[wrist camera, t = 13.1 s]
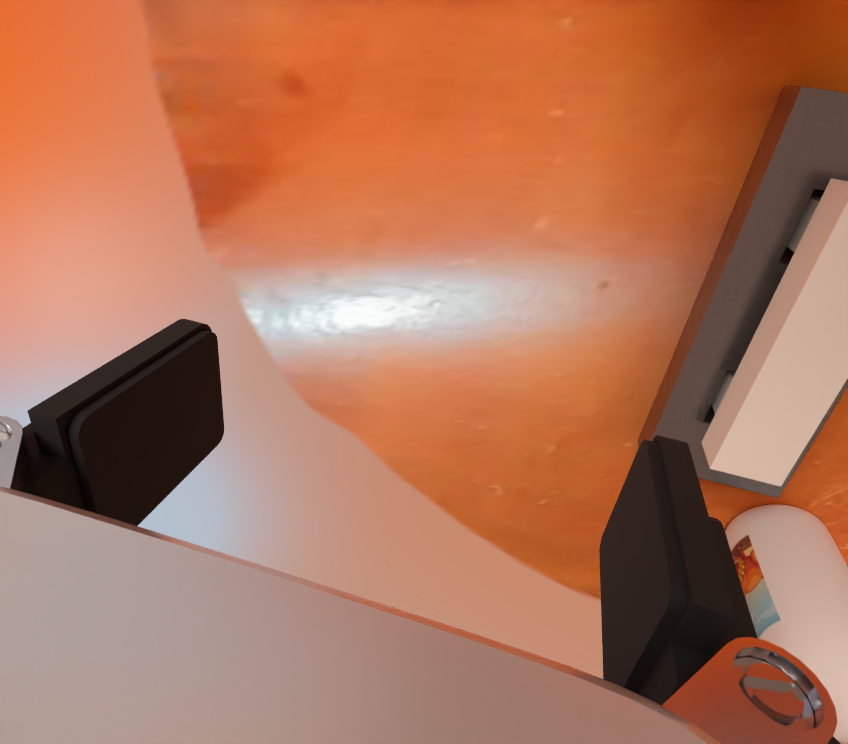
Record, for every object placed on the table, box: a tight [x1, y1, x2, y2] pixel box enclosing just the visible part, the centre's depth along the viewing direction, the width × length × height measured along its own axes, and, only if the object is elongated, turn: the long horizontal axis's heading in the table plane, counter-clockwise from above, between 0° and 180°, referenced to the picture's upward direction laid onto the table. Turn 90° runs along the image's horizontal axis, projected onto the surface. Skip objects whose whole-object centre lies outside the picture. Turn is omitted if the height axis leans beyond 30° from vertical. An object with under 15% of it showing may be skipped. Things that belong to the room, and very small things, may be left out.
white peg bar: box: [701, 178, 848, 487], centre depth 34 cm, size 18×4×8 cm, turn 173°
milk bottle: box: [725, 504, 848, 744], centre depth 37 cm, size 8×8×20 cm
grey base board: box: [638, 86, 848, 498], centre depth 36 cm, size 26×10×3 cm, turn 173°
